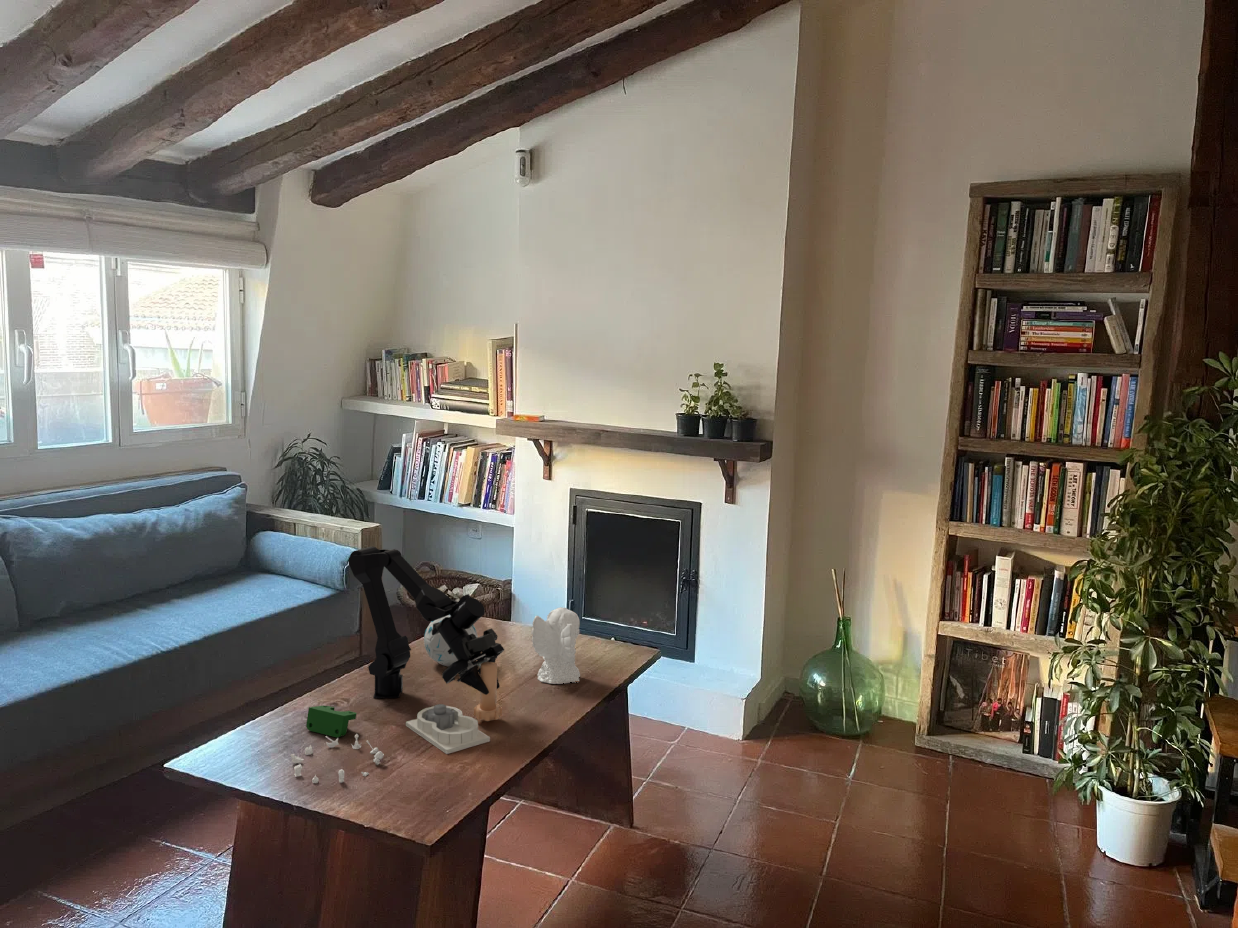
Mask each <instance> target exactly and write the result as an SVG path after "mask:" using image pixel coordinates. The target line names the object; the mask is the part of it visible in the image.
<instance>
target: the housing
mask: <svg viewBox="0 0 1238 928" xmlns="http://www.w3.org/2000/svg"><path fill="white" fill-rule="evenodd" d="M416 716H417V717H416V718H415V719H411V720H408V721H406V722H405V727H407V728H409V729H410V730H411V731H412V732H414V733H415V734H417V735H419V736H420V737H421V738H422V739H424V740H425V741H427V742H429V743H430V744H431V745H433V746H434V747H435V748H437V749H438V750H440V751H441V752H443V753H444V754H446V755H449V754H451V753H455V752H458V751H462V750H465V749H468V748H471V747H472V748H473V747H475V746H478V745H482V744H486V743H488V742H491V736H489V735H488V734H486V733H484V732H483V731H481V730H480V729H479V723H478V722H479V721H478V719H476V718H475V717H472V716H467V715H463V711H462V710H461V709H459V708H457V707H455V706H449V705H446V704H443V703H439V704H435V705H433V706H431V707H430V706H429V707H426V708H423V709H422V710H420V711H419V712H417V715H416Z"/></svg>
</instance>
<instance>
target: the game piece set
mask: <svg viewBox="0 0 1238 928" xmlns="http://www.w3.org/2000/svg"><path fill="white" fill-rule="evenodd" d="M325 738H327V739H328V740H329V741H330V742H327V741H325V744H326V746H327V747H329V748H335V747H336V746H339V745H340V744H339V742H338V741H339V737H336V739H335V740H333V739H331V738H330V737H329V735H326V736H325ZM354 738H355V742H354V745H353V743H350V745H351V746H352V747H351V748H352V749H353V750H358V749H361V748H362V743H359V740H358V738H359V734H358V733H356V734H355V735H354ZM366 743H367V744H368V745H369V746H370V748H371V751H370V752H369V754H370V755H373V763H375V765H376V766H378V765H380V761H381V760H382V759H383V758H384V755H385V754H384V753H383V752H382V751H381V750H379V747H374V748H373V746H372V745H371V743H370V741H369V740H366ZM313 753H314V751H313V747H312V745H311V744H309V746H307V747H305V749H304V754H305V756H310V755H312V754H313ZM289 757H291V762H292V763H294V765H295V766H294V767H293V769H294V774H293V776H294V775H295V776H294V777H295V778H296V777H301V776H302V774H301V771H302V769H303V766H302V764H301V763H302V762H303V761H305V759H304V758H302V757H300V756H296V754H295V753H292V754H290V755H289ZM296 764H298V765H296ZM337 774H338V782H339V783H340V784H342V783H345V770H344V769H342V768H341V769H339V770H338V773H337ZM369 774H370V773H369V772H367V771H365V772H364V771H361V775H362V777H367V776H368V775H369ZM316 775H317V774H315V775H314V777H313V778H312V779H311V782H312V784H318V783H319V777H317V776H316Z"/></svg>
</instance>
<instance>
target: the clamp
mask: <svg viewBox="0 0 1238 928" xmlns="http://www.w3.org/2000/svg"><path fill="white" fill-rule="evenodd" d="M357 713H358V712H355V711H351V710H348V711H347V710H346V711H339V710H335V707H334V706H331V705H317V706H309V707H308V711H307V717H306V718H307V719H306V724H305V726H306V730H308V731H310V732H314V733H317V734H321V735H326V736H328V737H329V736H330V737H334V738H340V737H344V736H346V734H347V730H348V728H349V721H352V720H356V718H357Z"/></svg>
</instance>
